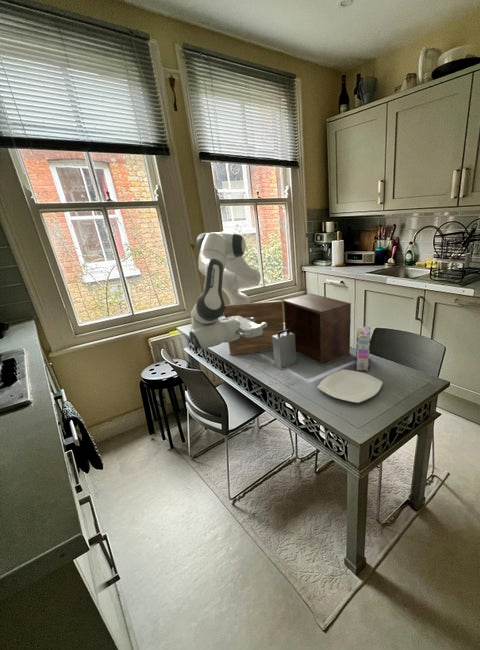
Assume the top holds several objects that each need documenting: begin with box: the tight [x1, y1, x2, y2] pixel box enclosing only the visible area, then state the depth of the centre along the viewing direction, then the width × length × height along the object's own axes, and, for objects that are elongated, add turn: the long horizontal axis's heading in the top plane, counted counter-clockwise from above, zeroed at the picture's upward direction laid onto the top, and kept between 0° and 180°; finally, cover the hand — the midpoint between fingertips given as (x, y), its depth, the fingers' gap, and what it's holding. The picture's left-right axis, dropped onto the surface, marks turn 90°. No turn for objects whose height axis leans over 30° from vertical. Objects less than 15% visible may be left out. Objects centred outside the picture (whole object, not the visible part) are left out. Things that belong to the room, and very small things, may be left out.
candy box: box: [355, 325, 371, 372], centre depth 143 cm, size 14×6×16 cm, turn 168°
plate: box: [317, 368, 384, 404], centre depth 127 cm, size 23×23×2 cm
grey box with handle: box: [272, 329, 297, 370], centre depth 146 cm, size 6×9×17 cm, turn 128°
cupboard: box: [282, 293, 352, 365], centre depth 155 cm, size 18×28×26 cm, turn 38°
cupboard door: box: [223, 300, 285, 356], centre depth 161 cm, size 7×28×26 cm, turn 98°
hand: (260, 321), depth 136 cm, fingers open, 8 cm apart
